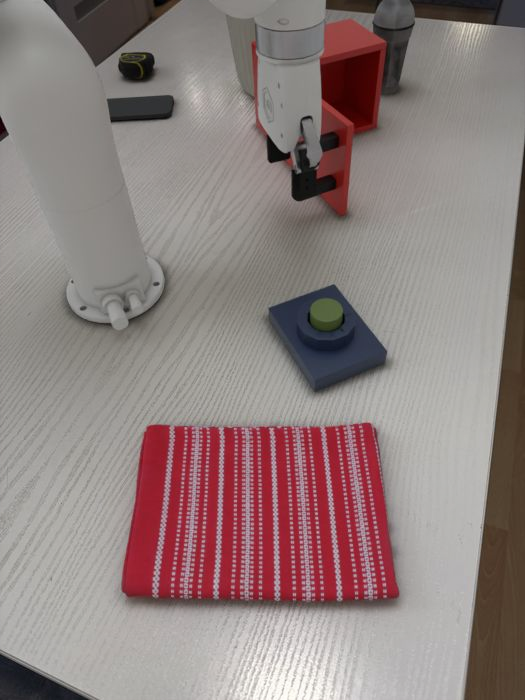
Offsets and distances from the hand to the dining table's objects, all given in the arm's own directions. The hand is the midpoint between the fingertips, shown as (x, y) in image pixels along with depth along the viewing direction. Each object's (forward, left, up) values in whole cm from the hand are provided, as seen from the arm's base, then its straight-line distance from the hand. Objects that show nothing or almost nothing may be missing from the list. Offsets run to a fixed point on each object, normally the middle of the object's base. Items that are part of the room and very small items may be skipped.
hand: (290, 177), depth 72 cm
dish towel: (-37, +21, -8) cm, 44 cm away
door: (+7, -4, -8) cm, 11 cm away
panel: (-21, +6, -8) cm, 24 cm away
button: (-22, +6, -4) cm, 23 cm away
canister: (+40, -16, -8) cm, 43 cm away
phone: (+45, +11, -8) cm, 47 cm away
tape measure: (+60, +6, -8) cm, 60 cm away
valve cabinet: (+23, -16, -8) cm, 29 cm away
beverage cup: (+29, -34, -8) cm, 45 cm away
